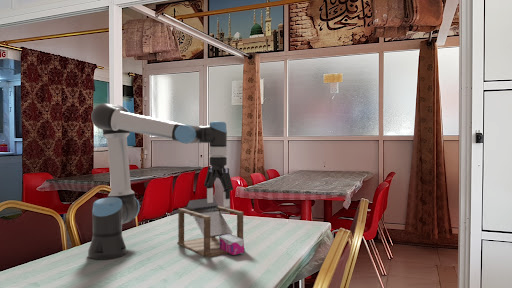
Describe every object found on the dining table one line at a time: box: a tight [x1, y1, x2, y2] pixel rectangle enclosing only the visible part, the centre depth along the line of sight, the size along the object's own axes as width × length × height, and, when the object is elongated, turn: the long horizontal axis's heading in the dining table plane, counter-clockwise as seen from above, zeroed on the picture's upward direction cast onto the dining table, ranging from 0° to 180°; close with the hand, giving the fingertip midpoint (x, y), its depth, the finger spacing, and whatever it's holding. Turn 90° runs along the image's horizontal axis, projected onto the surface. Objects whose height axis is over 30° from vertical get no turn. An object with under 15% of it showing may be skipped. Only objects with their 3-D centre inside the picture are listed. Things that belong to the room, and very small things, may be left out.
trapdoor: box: [186, 197, 233, 238], centre depth 181 cm, size 20×15×5 cm
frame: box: [176, 205, 246, 258], centre depth 180 cm, size 28×19×17 cm
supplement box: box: [218, 233, 245, 256], centre depth 171 cm, size 6×6×12 cm
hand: (218, 204), depth 175 cm, fingers open, 13 cm apart
